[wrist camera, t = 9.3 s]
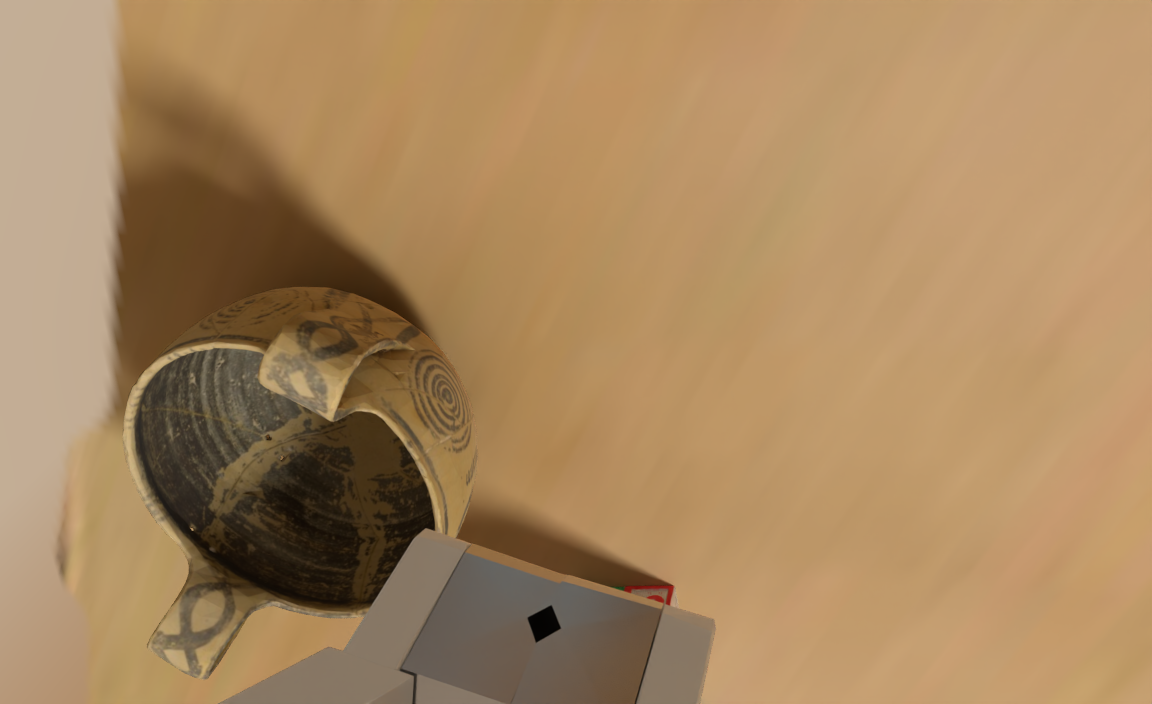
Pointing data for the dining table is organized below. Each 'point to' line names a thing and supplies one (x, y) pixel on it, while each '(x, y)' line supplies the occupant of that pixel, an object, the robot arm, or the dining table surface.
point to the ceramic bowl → (294, 459)
